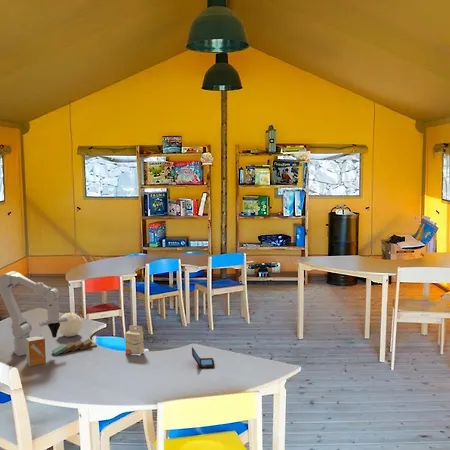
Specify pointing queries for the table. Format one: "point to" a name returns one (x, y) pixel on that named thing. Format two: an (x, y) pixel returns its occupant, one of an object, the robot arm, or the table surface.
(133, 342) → the ink cartridge box
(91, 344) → the domino
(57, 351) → the domino
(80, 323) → the geodesic sphere
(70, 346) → the domino
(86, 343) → the domino
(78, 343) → the domino
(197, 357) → the handheld game console
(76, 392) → the table surface
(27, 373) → the table surface
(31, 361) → the small box
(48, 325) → the robot arm
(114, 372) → the table surface
